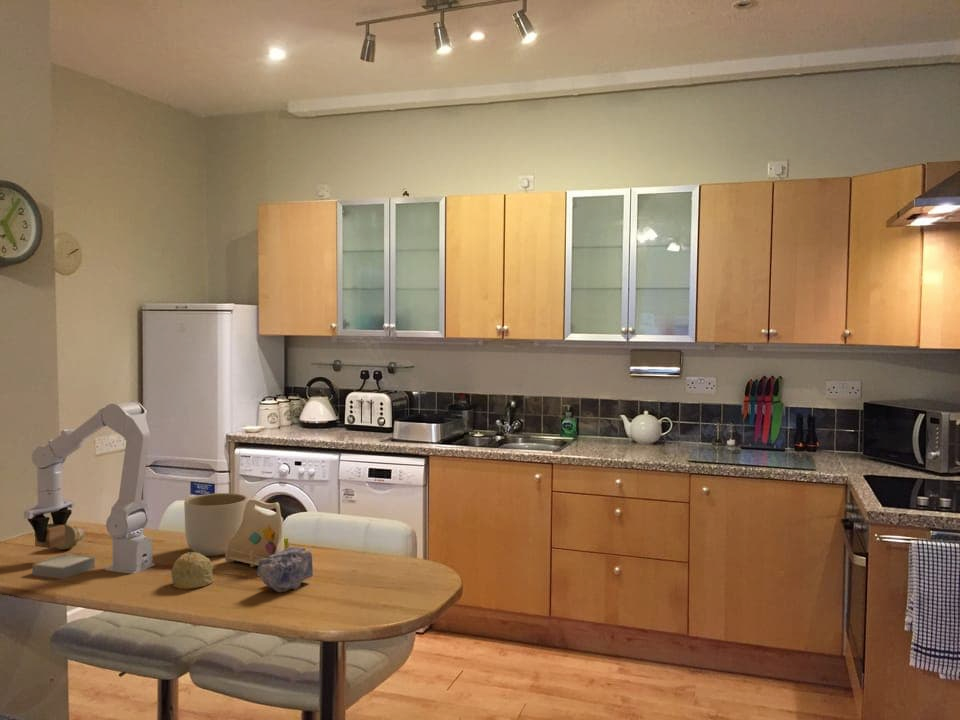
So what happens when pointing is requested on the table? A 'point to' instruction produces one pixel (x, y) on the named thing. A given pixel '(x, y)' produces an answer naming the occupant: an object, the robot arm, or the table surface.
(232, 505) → the planter
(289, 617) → the table surface
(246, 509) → the shape sorter
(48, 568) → the grey plinth
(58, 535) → the walnut cube
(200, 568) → the decorative object
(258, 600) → the table surface
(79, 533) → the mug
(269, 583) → the mineral
